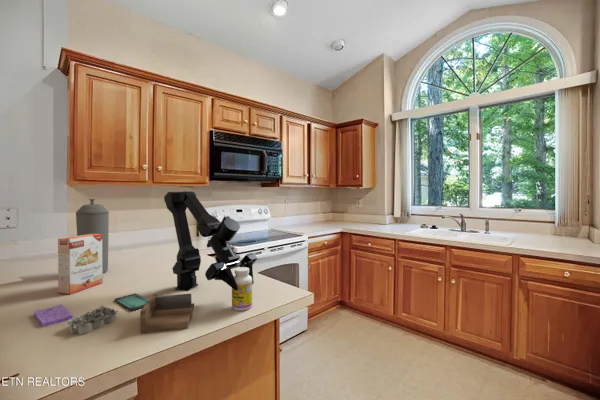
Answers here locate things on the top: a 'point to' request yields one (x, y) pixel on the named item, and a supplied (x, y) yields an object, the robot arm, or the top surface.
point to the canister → (94, 226)
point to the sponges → (52, 315)
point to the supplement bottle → (242, 290)
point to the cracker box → (79, 262)
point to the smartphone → (132, 302)
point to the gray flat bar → (173, 302)
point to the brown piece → (163, 317)
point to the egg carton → (92, 320)
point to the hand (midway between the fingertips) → (245, 286)
